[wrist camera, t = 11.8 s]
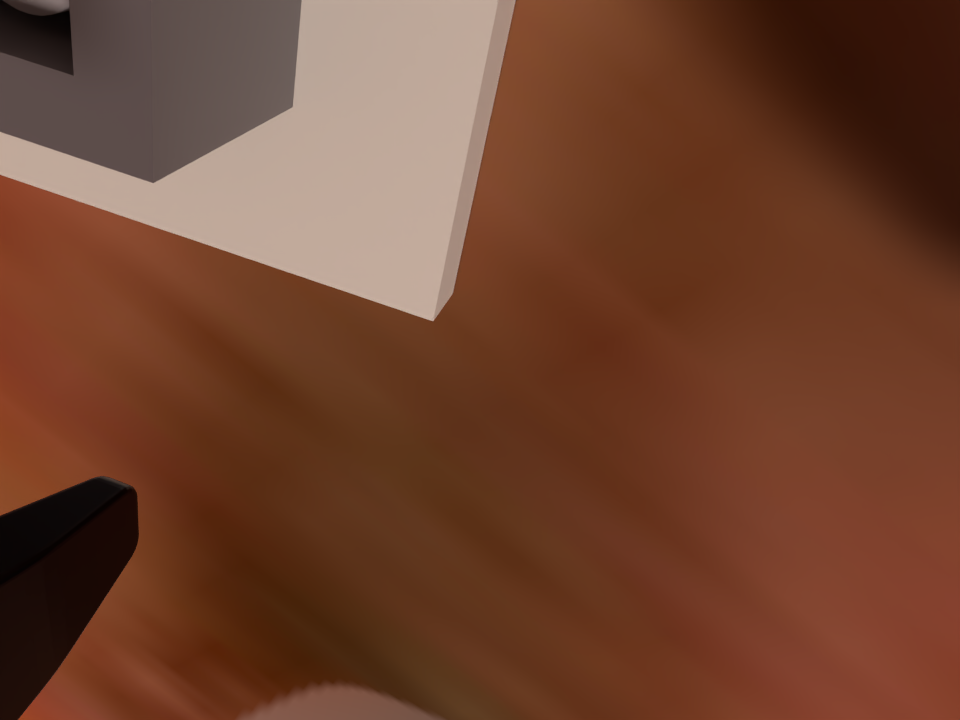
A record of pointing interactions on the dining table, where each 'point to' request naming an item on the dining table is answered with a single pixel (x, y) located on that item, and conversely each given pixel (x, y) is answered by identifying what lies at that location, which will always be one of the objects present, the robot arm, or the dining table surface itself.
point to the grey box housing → (146, 77)
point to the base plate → (332, 153)
